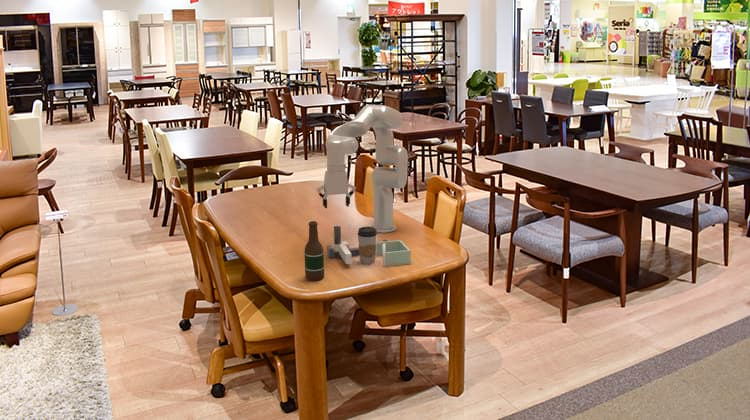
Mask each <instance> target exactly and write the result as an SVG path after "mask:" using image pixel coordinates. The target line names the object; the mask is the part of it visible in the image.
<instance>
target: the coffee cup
mask: <svg viewBox="0 0 750 420" xmlns="http://www.w3.org/2000/svg"><path fill="white" fill-rule="evenodd" d="M377 234H378V232H377V231H376V229H375V228H373V227H371V226H362V227H359V228H358V231H357V237H358V247H359V254H360V256H359V261H360V264H362V265H372V264H374V263H375V261H376V256H375V253H376V235H377Z"/></svg>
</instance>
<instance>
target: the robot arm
mask: <svg viewBox="0 0 750 420" xmlns="http://www.w3.org/2000/svg"><path fill="white" fill-rule="evenodd" d="M402 115H403V114H402V113H401V112H400V111H399V110H397V109H395V108H393V107H390V106H388V105H382V104H366V105H365V106H363V107H362V108H361V109H360V111H359V112H358V113H357V114H356V115H355V116H354V118H353V119H352V120H350V121H347V122H346V123H343V124H342V125H339V126H337V127H335V128H334V129H333V130H332V131H331V132H330V133H329V135H328V136H327V138H326V140H325V147H326V168H327V169H326V170H325V171H324V177H323V178H324V179H323V185H321V186H320V187H317V188H316V192H317V194H318V196H320V198H321V199H322V206H323V207H324V209H327V208H328V199H327V198H328V196H336V195H345V206H346V207H348V208H349V206H350V205H351V197H352V196H353V195H354V193H355V191H356V190H357V187H356V186H355V185H353V184H350V183H349V181H348V174H347V171H346V169H348V168H349V166H348V164H345V155H352V154H355V153H356V152H357V151H358V149H359V142H358V140H357V139H356V138H358V137H362V136H365V135H366V134H367V133H368V131H370V130H371V128H372V129H373V131H374V134H375V161H376V162H377V163H378V164H379V165H386V166H387V167H386V166H378V167H375V168H373V170H372V172H371V183H372V187H373V188H372V189H373V224H372V225H371V226H370V227H373V228H375V229H376V231H377V233H378V234H379V233H382V234H385V233H386V234H387V233H393V232H395V231H396V230H397V226H396V225H395V224H394V194H393V191H392V189H403V188H404V187H405V186H406V184H407V181H408V163H409V156H408V150H407V149H406V148H405V147H404V146H401V145H400V146H399V145H394V144H395V143H394V133H393V131H392V130H396V129H399V128H400V127H401V126H402V124H403V116H402ZM388 166H394V167H388ZM391 188H392V189H391ZM349 189H350V191H349ZM321 191H323V192H324V193H322V192H321Z"/></svg>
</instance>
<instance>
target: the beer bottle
mask: <svg viewBox="0 0 750 420" xmlns="http://www.w3.org/2000/svg"><path fill="white" fill-rule="evenodd" d="M318 224H319V223H318V222H317V221H314V220H313V221H309V222H308V241H307V243H306V244H305V246H304V250H303V251H304V254H303V255H304V273H305V274H304V276H305V279H306V280H307V281H310V282H318V281H321V280H322V279H324V278H325V255H324V247H323V245H322V243H321V241H320V239H319V232H318Z"/></svg>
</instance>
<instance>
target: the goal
mask: <svg viewBox="0 0 750 420" xmlns="http://www.w3.org/2000/svg"><path fill="white" fill-rule="evenodd" d="M377 238H378V236H377V235H376V253H375V257H379V256H382V267H383V268H385V267H393V266H402V264H403V265H409V263H411V257H412V256H411V253H412V252H411V249H410V248H409V247H408V246H407V245H406V243H404V242H403V241H402V240H398V239H397V240H389V241H388V240H387V242H383V241H379V242H378V241H377V240H378V239H377Z"/></svg>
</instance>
